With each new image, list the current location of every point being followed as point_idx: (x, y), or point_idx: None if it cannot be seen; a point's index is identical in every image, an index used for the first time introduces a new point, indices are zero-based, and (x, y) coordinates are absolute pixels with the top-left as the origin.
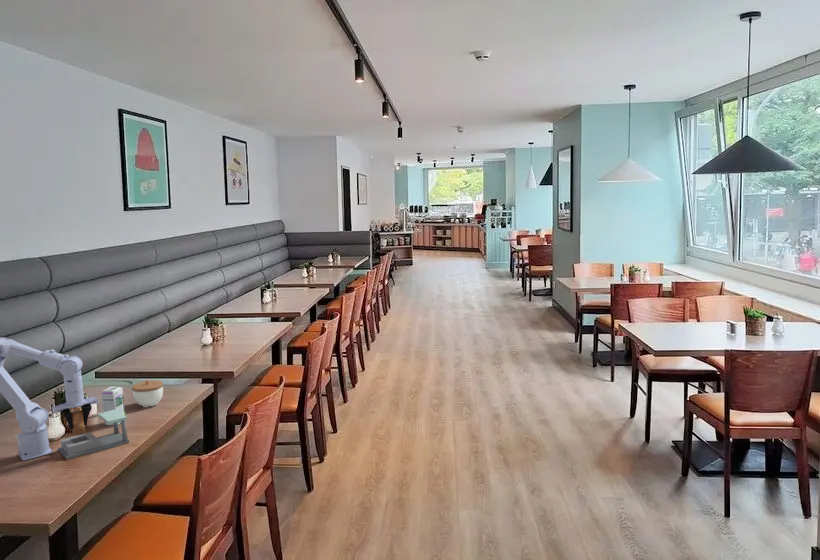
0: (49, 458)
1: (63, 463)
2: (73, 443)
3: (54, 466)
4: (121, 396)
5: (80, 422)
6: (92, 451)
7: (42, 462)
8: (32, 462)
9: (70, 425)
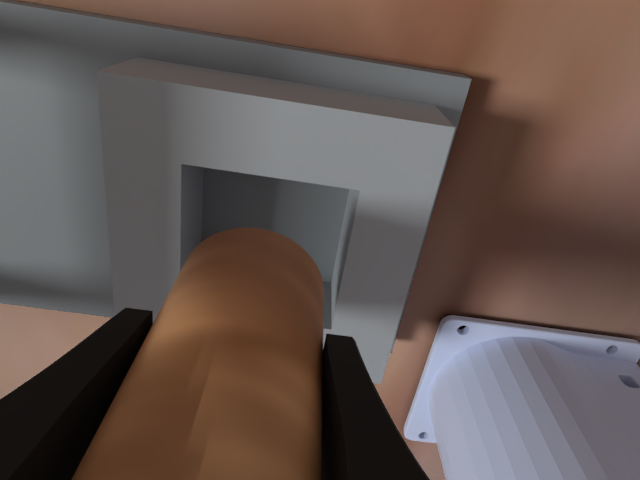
0: (515, 241)
1: (530, 7)
2: None
3: (619, 7)
4: None
5: (202, 341)
6: (221, 35)
7: (595, 206)
8: (625, 269)
9: (366, 377)
